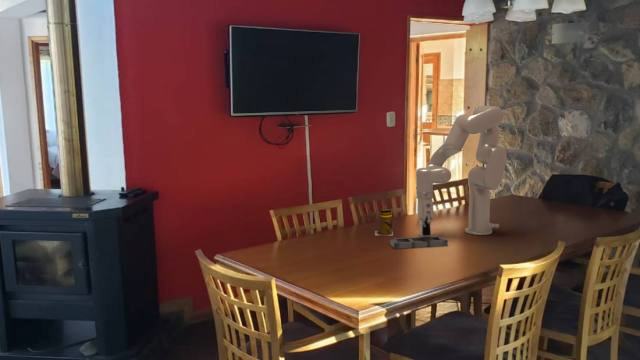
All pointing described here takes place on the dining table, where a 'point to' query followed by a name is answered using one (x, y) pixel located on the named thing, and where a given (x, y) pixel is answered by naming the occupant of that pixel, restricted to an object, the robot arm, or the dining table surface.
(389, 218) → the condiment
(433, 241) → the grey flat rectangular frame
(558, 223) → the dining table surface
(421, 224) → the block
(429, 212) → the robot arm
